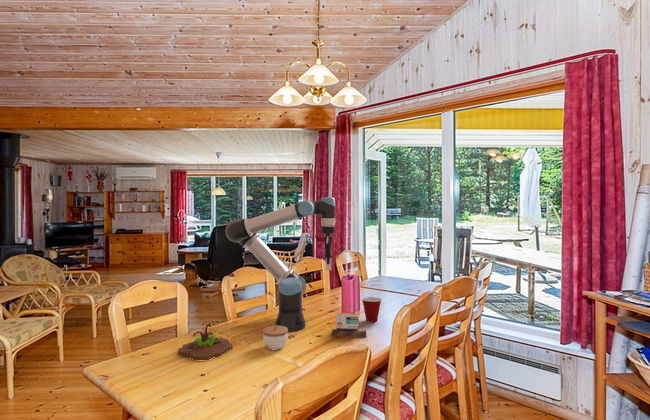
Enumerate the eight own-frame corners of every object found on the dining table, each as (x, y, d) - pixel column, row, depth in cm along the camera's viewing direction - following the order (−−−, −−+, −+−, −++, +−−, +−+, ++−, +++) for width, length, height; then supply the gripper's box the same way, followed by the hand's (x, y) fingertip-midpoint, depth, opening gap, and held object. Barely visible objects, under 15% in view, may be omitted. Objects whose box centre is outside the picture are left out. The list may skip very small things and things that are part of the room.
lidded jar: (264, 353, 149) (264, 331, 149) (261, 344, 159) (261, 323, 159) (290, 350, 152) (289, 328, 152) (285, 341, 162) (285, 320, 162)
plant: (240, 348, 156) (240, 322, 156) (204, 365, 139) (203, 336, 139) (208, 339, 167) (208, 315, 166) (171, 354, 150) (171, 327, 150)
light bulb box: (358, 317, 178) (359, 313, 168) (358, 331, 175) (359, 328, 166) (336, 316, 179) (336, 312, 169) (336, 330, 176) (335, 328, 166)
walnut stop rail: (332, 335, 169) (332, 330, 169) (332, 334, 171) (332, 329, 171) (366, 337, 167) (366, 331, 167) (366, 335, 169) (366, 330, 169)
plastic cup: (381, 317, 196) (381, 295, 196) (382, 324, 185) (382, 301, 185) (361, 317, 197) (361, 295, 197) (361, 323, 186) (361, 300, 186)
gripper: (334, 226, 187) (334, 272, 187) (336, 225, 200) (336, 267, 200) (319, 226, 188) (320, 272, 188) (322, 225, 200) (322, 267, 201)
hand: (328, 269), depth 194 cm, fingers closed
